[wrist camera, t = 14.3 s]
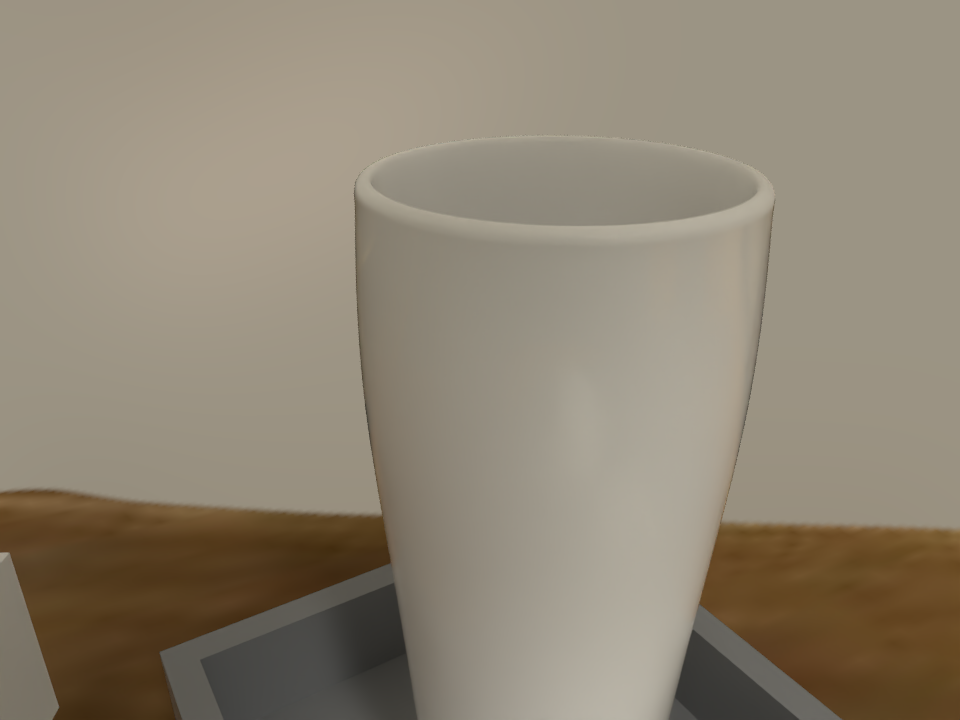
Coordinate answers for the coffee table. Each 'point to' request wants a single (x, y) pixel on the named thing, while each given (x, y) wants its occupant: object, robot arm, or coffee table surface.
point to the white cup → (555, 409)
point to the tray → (385, 674)
